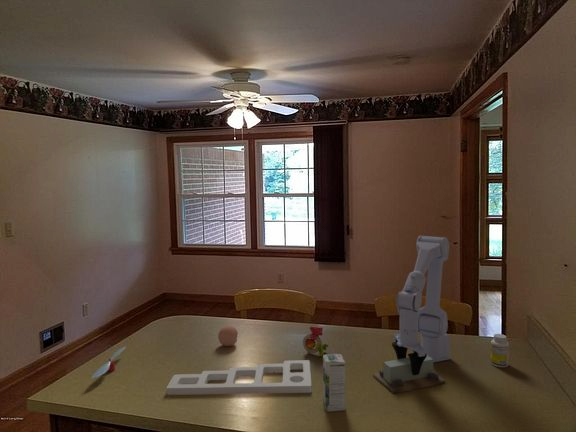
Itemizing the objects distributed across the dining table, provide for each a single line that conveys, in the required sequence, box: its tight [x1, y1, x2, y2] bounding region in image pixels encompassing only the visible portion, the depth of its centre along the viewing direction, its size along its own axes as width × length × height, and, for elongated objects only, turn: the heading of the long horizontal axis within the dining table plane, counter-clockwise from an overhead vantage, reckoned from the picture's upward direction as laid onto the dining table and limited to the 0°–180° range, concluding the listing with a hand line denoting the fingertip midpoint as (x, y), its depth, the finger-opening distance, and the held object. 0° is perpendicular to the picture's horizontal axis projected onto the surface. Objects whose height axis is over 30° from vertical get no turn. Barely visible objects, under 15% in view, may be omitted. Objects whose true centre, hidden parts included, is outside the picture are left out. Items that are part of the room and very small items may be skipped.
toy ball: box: [217, 325, 239, 347], centre depth 167 cm, size 8×8×8 cm
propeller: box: [90, 346, 127, 379], centre depth 148 cm, size 4×25×4 cm, turn 177°
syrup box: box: [322, 353, 346, 413], centre depth 121 cm, size 6×6×14 cm
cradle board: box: [372, 369, 446, 395], centre depth 136 cm, size 19×12×2 cm, turn 108°
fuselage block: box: [382, 356, 434, 384], centre depth 136 cm, size 16×4×6 cm, turn 108°
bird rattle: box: [302, 326, 329, 357], centre depth 157 cm, size 6×11×9 cm
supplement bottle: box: [490, 333, 510, 368], centre depth 144 cm, size 6×6×10 cm
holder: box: [166, 359, 313, 396], centre depth 139 cm, size 45×18×3 cm, turn 89°
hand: (408, 369), depth 136 cm, fingers open, 7 cm apart
